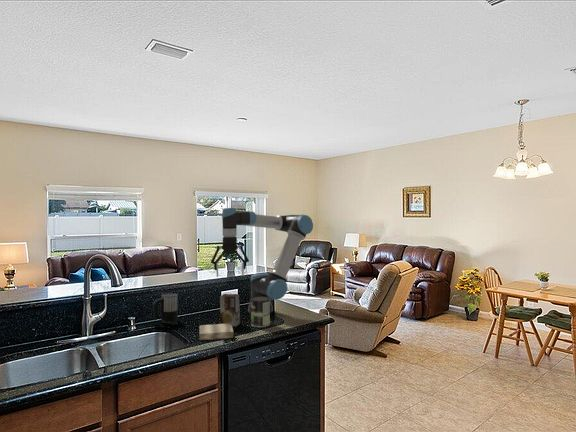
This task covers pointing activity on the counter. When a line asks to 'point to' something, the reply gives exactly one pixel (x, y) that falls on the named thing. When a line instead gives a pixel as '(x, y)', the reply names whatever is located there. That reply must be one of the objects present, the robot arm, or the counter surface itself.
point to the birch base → (215, 331)
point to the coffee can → (260, 311)
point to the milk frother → (167, 308)
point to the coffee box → (230, 309)
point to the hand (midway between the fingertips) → (230, 275)
